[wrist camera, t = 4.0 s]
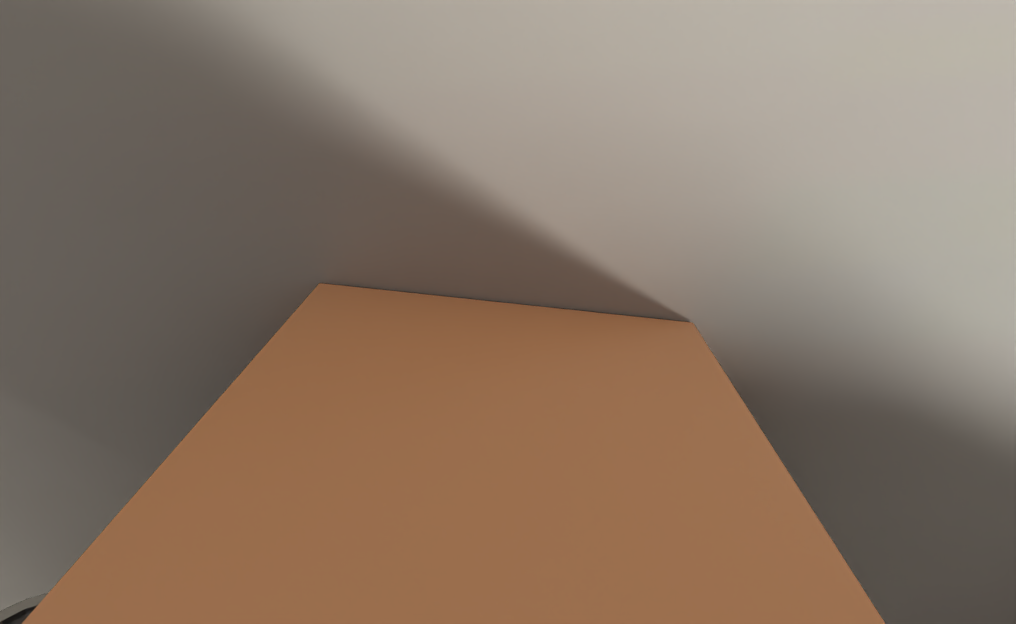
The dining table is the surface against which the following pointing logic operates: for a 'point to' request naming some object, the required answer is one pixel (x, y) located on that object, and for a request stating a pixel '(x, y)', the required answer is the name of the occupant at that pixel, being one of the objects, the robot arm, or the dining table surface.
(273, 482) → the tan wooden cube
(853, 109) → the dining table surface
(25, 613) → the robot arm
